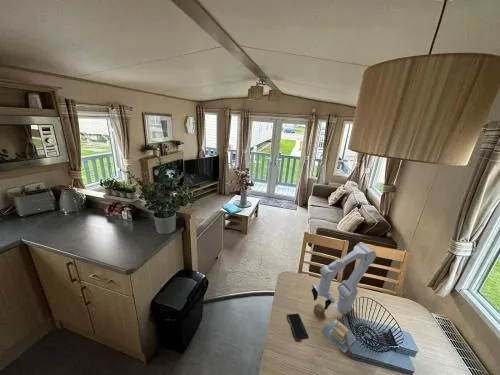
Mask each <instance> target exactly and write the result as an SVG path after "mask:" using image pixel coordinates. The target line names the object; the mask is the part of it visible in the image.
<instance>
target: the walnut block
mask: <svg viewBox="0 0 500 375" xmlns="http://www.w3.org/2000/svg"><path fill="white" fill-rule="evenodd" d="M313 312H314V313H315V314H316V315H317V316H318V317H319V318H320V317H321V316H322V315H324V314H325V312H326V310H325V306H323V304H321V303H320V302H318V303H317V304H316V305H314V306H313Z"/></svg>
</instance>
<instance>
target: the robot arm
mask: <svg viewBox="0 0 500 375" xmlns="http://www.w3.org/2000/svg"><path fill="white" fill-rule="evenodd" d="M376 258H377V252H376V251H375V250H373V249H371V248H370V247H369V246H367V245H366V244H365V243H364V242H358V243H357V244H356V245H355V246H353V250H352V251H350V252H349V253H347V255H345V256H344V257H343V258H338V259H336V260H334V261H332V262H331V263H329V264H328V265H326V264H325V265H322V267H320V269H319V273H320V279H319V284H316V283H314V282H313V283H312V284H311V288H312V289H311V293H312V296H313V301H316V300H318V296H319V297H323V298H325V299H326V300H324V308H325V311H327V310H328V308H329V307H330V305H331V304H332V305H333V304H334V303H335V304H334V305H333V307H334V308H335V309H336V310H338V311H339V312H340V313H341V314H343V315H344V314H346V312H347V311H349V309H350V311H349V312H351V311H352V310H353V309H354V307H353V303H354V301H355V300H356V299H357V295H358V293H359V291H358V288H357V286H358V285H359V283H360V282H361V281H360V280H362V278H363V276H364V275H365V273H366V272H367V270H368V269H369V267H370V266H371V265H372V264H373V263H374V261H375V259H376ZM356 260H359V261H358V263H357V265H356V266H355V268H354V269H353V271H352V272H351V274H350V275H349V277H348V279H346V280H342V281H341V282H340V284H338V286H337V290H338V298H337V302H336V299H335V298H334V297H333V295H331V293H330V289H331V286H332V285H331V284H332V280H334V279H335V277H336V276H337V275H338V273H340V272H341V271H343V270H344V269H345V268H346V265H348V264H350V263H352V262H354V261H356Z"/></svg>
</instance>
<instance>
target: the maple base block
mask: <svg viewBox="0 0 500 375" xmlns="http://www.w3.org/2000/svg"><path fill="white" fill-rule="evenodd" d="M340 322H341V321H339V322H338V323H337V324H336V325H335V326H334V327H333V329H332V334H334V335H335V336H336V337H337V338H338V339H339V340H340V341H341V342H342V341H343V340H344V339H345V338H346V335H347V334H348V333H349V330H350V329H349V328H348V327H347V326H345V325H344V324H343V323H342V322H341V323H342V324H341V323H340ZM347 328H348V329H349V330H348V329H347Z"/></svg>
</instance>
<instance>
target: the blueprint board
mask: <svg viewBox="0 0 500 375" xmlns="http://www.w3.org/2000/svg"><path fill="white" fill-rule="evenodd" d="M338 322H340V323H341V324H343V323H342V322H341V321H339V320H338V319H337V318H334V319H333V320H332V321H330V322H329V323H327V324H326V325H325V326H324V327H323V328H322V329H321V330H320V331H321V333H322V334H324V336H326V337H327V338H328V339H329V340H330V341H331V342H332V343H333V344H334V345H335V346H336V347H337V348H338V349H339V350H341V351H342V352H343V353H344V354H345V353H346V352H347V351H348V350H349V349H348V348H347V345H346V340H345V339H344V340H343V341H342V342H341V341H340V340H339V339H338V338H337V337H336V336H335V335H334V334H332V329H333V327H334V326H335V325H336V324H337V323H338Z"/></svg>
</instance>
